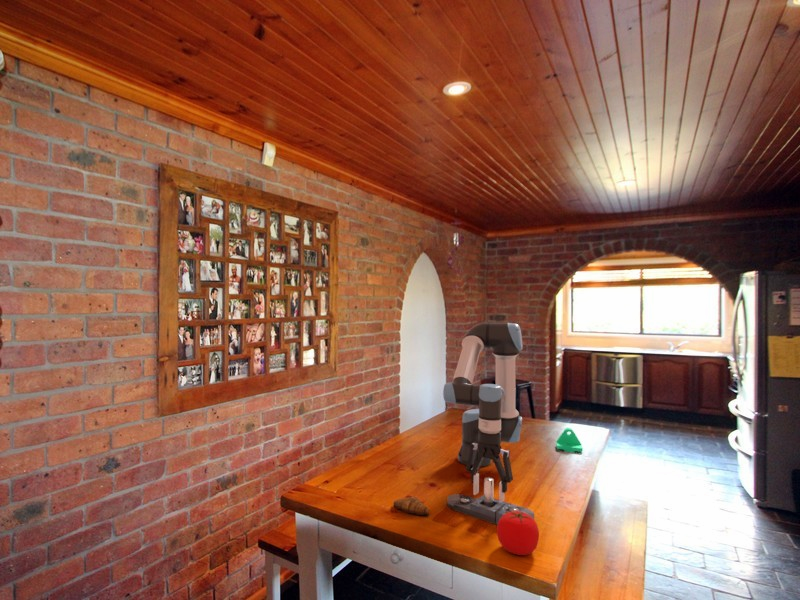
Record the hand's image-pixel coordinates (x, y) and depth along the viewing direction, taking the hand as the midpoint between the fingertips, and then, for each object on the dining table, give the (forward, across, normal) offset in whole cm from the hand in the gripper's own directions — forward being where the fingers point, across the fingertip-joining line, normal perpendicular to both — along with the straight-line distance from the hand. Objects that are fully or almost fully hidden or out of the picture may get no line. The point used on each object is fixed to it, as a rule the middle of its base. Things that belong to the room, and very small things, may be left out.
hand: (488, 497), depth 145 cm
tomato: (+6, +16, -14) cm, 22 cm away
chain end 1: (+6, -5, 0) cm, 8 cm away
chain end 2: (+6, +6, 0) cm, 8 cm away
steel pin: (+6, 0, 0) cm, 6 cm away
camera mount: (+6, +1, +90) cm, 90 cm away
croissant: (+6, -22, -14) cm, 27 cm away
